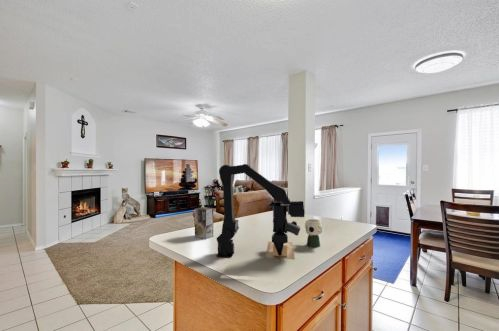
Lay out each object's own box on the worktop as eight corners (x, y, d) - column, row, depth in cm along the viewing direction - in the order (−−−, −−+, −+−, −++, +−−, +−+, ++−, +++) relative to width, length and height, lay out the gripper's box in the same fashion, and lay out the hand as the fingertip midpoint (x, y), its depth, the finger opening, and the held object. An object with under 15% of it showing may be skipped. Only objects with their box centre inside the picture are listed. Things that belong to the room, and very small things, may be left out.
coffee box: (213, 236, 129) (213, 208, 129) (206, 239, 123) (206, 209, 124) (202, 234, 133) (202, 206, 134) (194, 236, 128) (194, 208, 129)
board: (265, 260, 94) (265, 257, 94) (268, 243, 115) (268, 241, 115) (294, 261, 92) (294, 259, 92) (292, 244, 114) (292, 242, 114)
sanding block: (272, 255, 95) (272, 246, 95) (273, 252, 99) (273, 243, 99) (287, 256, 94) (287, 247, 94) (287, 253, 98) (286, 243, 98)
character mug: (300, 245, 112) (299, 219, 113) (310, 243, 116) (310, 217, 116) (316, 252, 103) (316, 223, 103) (327, 249, 106) (327, 221, 107)
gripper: (300, 221, 87) (301, 263, 86) (297, 213, 105) (297, 247, 105) (271, 221, 88) (271, 261, 88) (273, 212, 107) (273, 246, 106)
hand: (280, 253), depth 96 cm, fingers closed on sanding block, 4 cm apart
